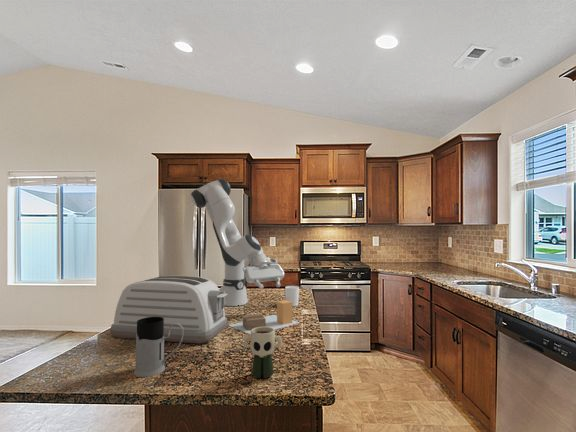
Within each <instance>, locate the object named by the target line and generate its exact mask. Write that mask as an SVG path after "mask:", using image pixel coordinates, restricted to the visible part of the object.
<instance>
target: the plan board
mask: <svg viewBox="0 0 576 432" xmlns="http://www.w3.org/2000/svg"><path fill="white" fill-rule="evenodd" d="M263 317H264V318H265V319H266V327H271V328H274V330H275V331H276V330H278V329H282V328H286V327H289V326H292V325H294V326H295V325H296V324H299V323H301V322H300V321H297V320H294V319H292V322H293V323H288V324H284V325H283V324H281V323H278V322H277V314H271V315H268V316H263ZM228 326H229V327H231V328H233V329H236V330H239V331H241V332H243V333H246V334H248V335H249V336H251V330H246V329H245V327H244V326H243V321H242V322H238V323H233V324H227V327H228Z"/></svg>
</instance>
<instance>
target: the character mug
mask: <svg viewBox="0 0 576 432" xmlns="http://www.w3.org/2000/svg"><path fill="white" fill-rule="evenodd" d="M243 340H244V341H243V346H244V348H247V349H249V348H250V351H251V353H252V354H253V362H252V368H251V375H252V376H253V377H254V378H256V379H257V378H258V379H261V376H262V375H263V379H267V378H270V377H271V376H273V374H274V372H275V371H274V363H273V356H272V355H271V354H273V353H274V352H275V350H276V348H281V347H282V336H281V335H276V329H275V330H274V328H271V327H256V328H253V329H252V330H251V335H246V336H244V338H243ZM248 340H250V344H249V343H248ZM276 340H277V343H276Z"/></svg>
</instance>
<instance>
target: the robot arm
mask: <svg viewBox="0 0 576 432" xmlns="http://www.w3.org/2000/svg"><path fill="white" fill-rule="evenodd" d="M230 194H231V185H230V184H229V182H228V181H227V179H224V178H219V179H217V180H213V181H210V182H207V183H206V184H204V185H203V186H202V185H201V186H200V187H198V188H197V189H194V190H193V191H191V193H190V199H191V203H192V204H193V205H194V206H195V207H196V208H198V209H202V208H206V209H205V210H206V212H207V214H208V216H209V219H210V221H211V223H212V227H213V230H214V233H215V237H216V240H217V243H218V246H219V248H220V252H221V256H222V259H223V261H224V279H223V278H222V282H223V283H222V286H221V287H220V288H218V289H219V291H223V292H224V294H227V295H226V296H224V307H236V306H237V307H239V306H245V305H247V304H246V303H248V302H249V299H248V295H247V294H248V293H247V287H246V286H245V285H246V282H247V283H248V284H255V286H257V287H258V289H259V290H263V289H264V288H265V286H264V284H263V282H272V281H275V282H276V283H275V286H276V288H280V287H281V281H282V280H283V279H284V277H285V271H284V270H283V268H282V266H281V265H280V264H279V263H278V260H277V259H275V258H270V257H269V256H268V257H267V255H266V254H265V253H264V249H263V247H262V245H261V243H260V242H259V240H258V239H257V237H255V236H254V235H250V234H246V235H243V236H242V235H241V233H240V231H239V229H238V227H237V226H236V223H235V221H234V219H233V217H234V215H235V213H236V208H235V204H234V203H233V200H232V199H231V198H230ZM246 259H248V260H249V264H250V265H245V260H246ZM238 305H239V306H238Z"/></svg>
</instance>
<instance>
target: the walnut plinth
mask: <svg viewBox="0 0 576 432" xmlns="http://www.w3.org/2000/svg"><path fill="white" fill-rule="evenodd" d="M264 317H265V316H263V315H262V314H261V313H258V314H257V313H256V314H246V315H242V322H243V326H244V327H245V329H246V330H252V329H253V328H256V327H266V319H265V318H264Z"/></svg>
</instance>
